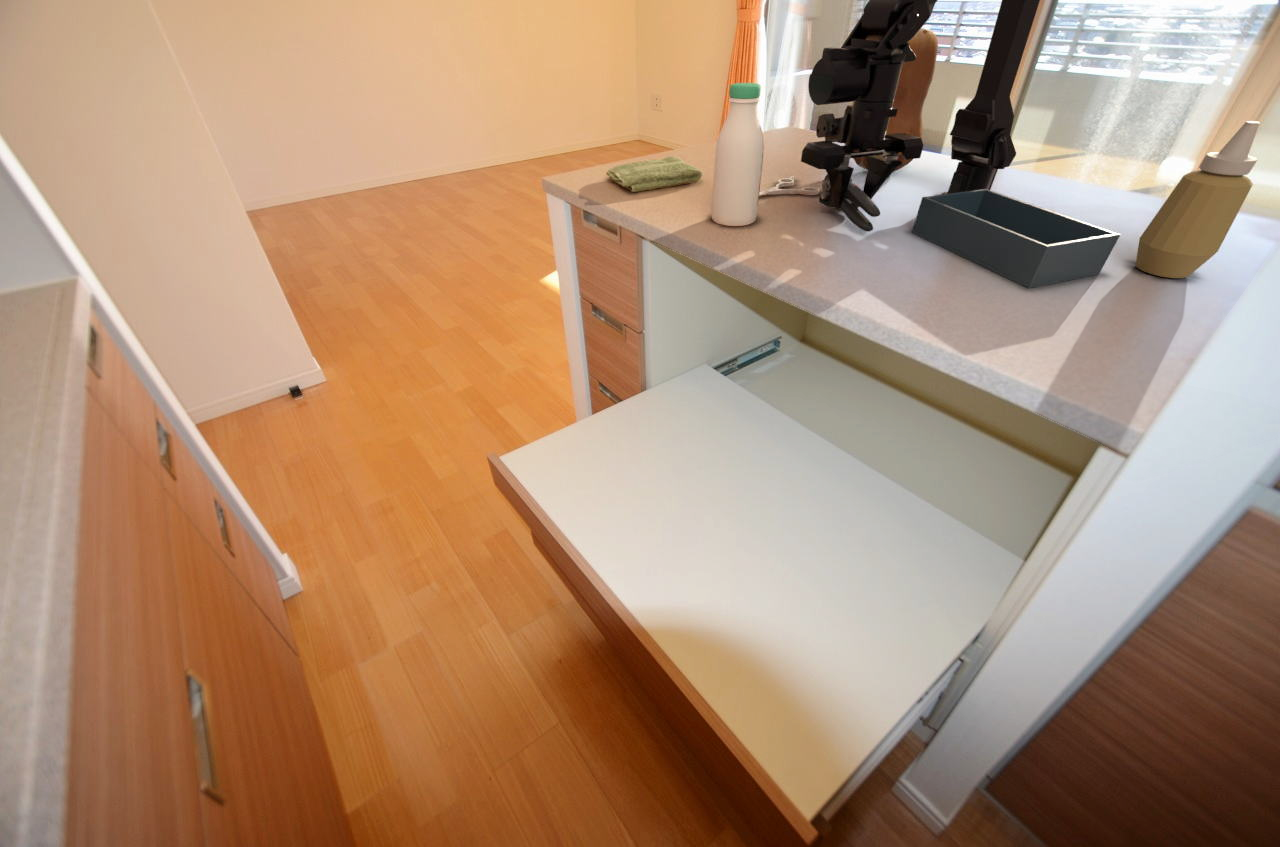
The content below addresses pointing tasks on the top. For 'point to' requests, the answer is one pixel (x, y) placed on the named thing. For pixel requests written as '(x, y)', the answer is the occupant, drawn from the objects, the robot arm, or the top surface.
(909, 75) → the butternut squash
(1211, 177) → the squeeze bottle
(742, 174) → the milk bottle
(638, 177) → the washcloth
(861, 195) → the can opener
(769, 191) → the scissors
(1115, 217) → the top surface
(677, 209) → the top surface
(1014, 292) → the top surface
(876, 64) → the robot arm
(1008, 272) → the bin
